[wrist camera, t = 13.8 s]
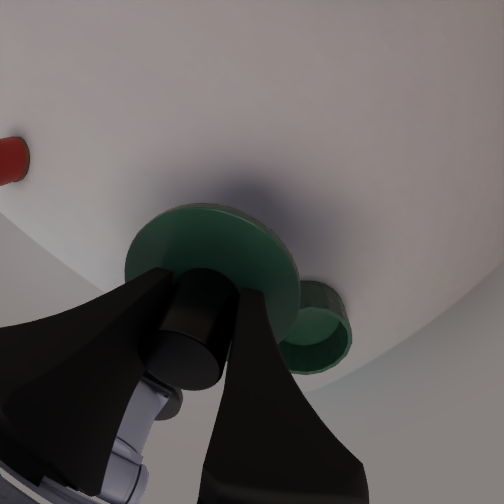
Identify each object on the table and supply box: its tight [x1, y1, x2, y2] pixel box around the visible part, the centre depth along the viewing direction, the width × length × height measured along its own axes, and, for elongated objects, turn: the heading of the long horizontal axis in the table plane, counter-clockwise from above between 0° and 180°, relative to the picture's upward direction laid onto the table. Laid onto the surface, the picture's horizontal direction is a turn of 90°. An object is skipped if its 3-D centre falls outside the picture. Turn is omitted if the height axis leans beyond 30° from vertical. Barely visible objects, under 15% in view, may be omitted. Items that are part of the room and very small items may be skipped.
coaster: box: [14, 137, 29, 182], centre depth 19 cm, size 4×4×1 cm
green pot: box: [277, 281, 352, 375], centre depth 20 cm, size 6×6×4 cm
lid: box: [125, 203, 301, 391], centre depth 9 cm, size 6×6×4 cm
